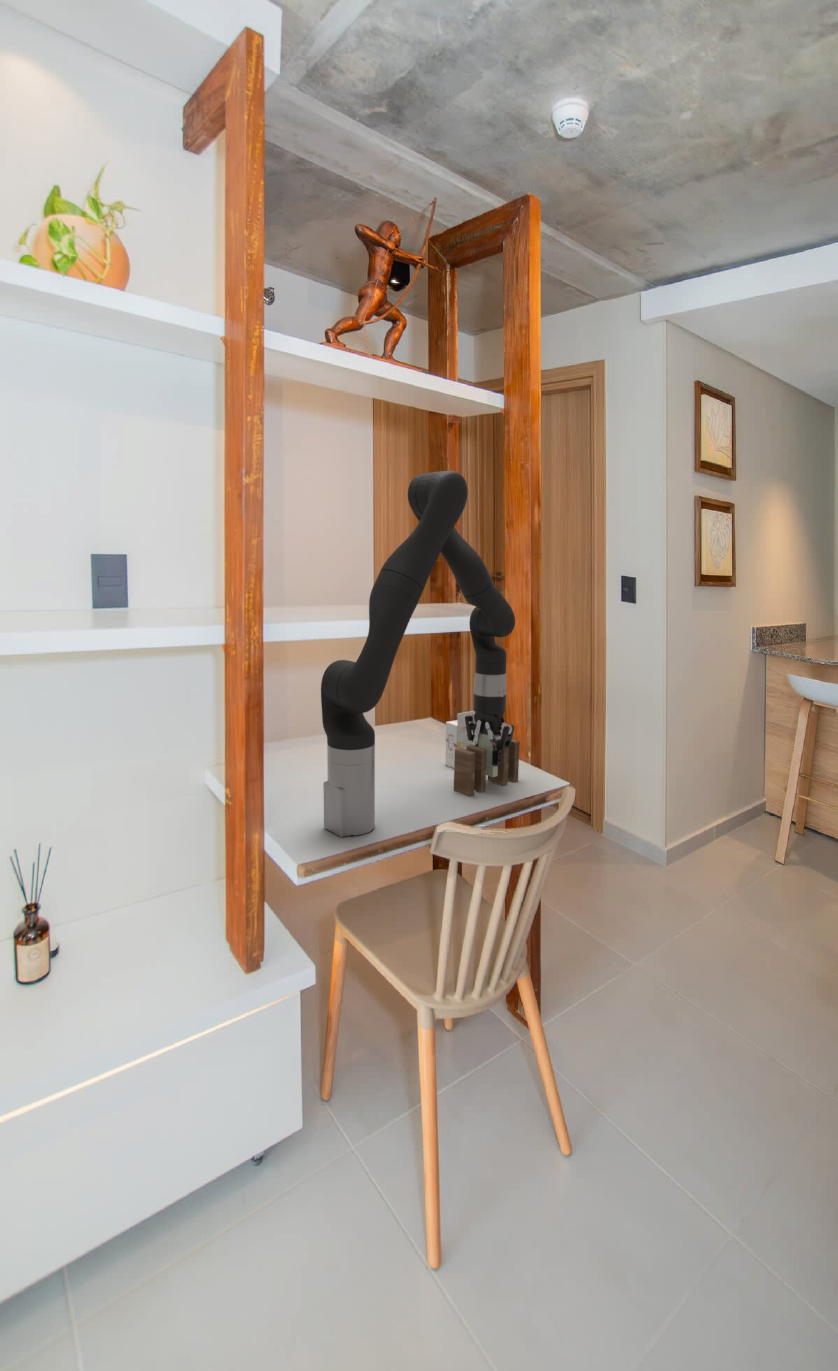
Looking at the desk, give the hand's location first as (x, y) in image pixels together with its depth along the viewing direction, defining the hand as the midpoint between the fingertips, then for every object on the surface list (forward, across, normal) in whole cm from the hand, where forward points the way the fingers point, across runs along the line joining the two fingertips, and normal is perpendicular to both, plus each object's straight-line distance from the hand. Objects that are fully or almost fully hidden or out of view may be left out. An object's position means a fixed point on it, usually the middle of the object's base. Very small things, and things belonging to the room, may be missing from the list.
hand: (487, 762), depth 155 cm
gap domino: (+3, 0, 0) cm, 3 cm away
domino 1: (+6, 0, -8) cm, 10 cm away
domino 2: (+6, 0, -4) cm, 7 cm away
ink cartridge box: (+6, -15, +7) cm, 18 cm away
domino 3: (+6, 0, +4) cm, 7 cm away
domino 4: (+6, 0, +8) cm, 9 cm away
